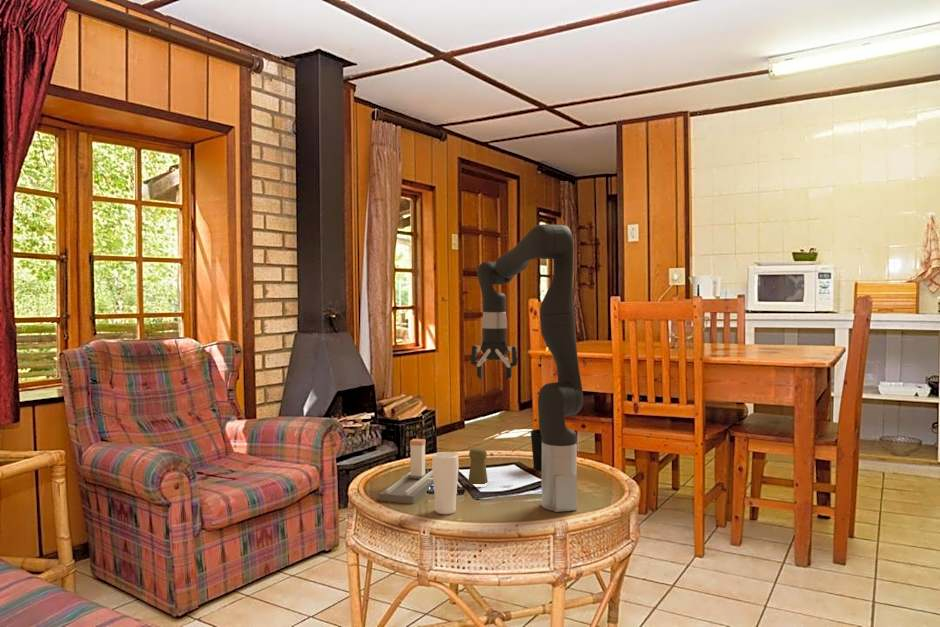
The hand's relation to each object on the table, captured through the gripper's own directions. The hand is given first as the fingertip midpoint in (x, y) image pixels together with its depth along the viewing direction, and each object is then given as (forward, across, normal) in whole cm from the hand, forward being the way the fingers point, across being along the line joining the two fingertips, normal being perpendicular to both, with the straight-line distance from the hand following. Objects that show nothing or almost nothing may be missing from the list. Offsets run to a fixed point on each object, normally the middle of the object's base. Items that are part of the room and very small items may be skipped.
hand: (494, 379), depth 218 cm
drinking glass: (+30, -4, -37) cm, 48 cm away
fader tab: (+28, -20, -15) cm, 37 cm away
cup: (+30, +13, +13) cm, 35 cm away
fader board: (+30, -20, -21) cm, 42 cm away
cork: (+30, -2, -11) cm, 32 cm away
